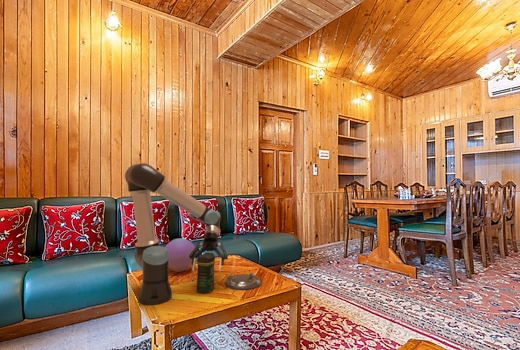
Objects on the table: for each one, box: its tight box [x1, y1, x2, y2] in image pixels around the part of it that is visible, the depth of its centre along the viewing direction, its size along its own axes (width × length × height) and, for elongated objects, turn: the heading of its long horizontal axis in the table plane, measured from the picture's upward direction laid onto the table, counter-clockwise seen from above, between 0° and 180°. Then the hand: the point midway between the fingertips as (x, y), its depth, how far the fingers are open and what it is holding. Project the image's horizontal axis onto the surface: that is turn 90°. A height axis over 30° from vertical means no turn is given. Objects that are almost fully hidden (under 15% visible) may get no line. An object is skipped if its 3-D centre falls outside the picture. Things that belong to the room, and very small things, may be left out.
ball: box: [164, 237, 196, 273], centre depth 177 cm, size 20×20×20 cm
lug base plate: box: [224, 272, 262, 291], centre depth 157 cm, size 20×20×3 cm
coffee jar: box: [196, 252, 216, 294], centre depth 147 cm, size 10×8×19 cm
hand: (206, 270), depth 146 cm, fingers open, 13 cm apart
